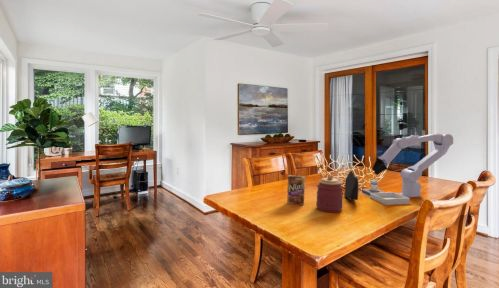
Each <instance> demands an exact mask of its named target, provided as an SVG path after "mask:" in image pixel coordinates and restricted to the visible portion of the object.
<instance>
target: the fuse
mask: <svg viewBox="0 0 499 288" xmlns="http://www.w3.org/2000/svg"><path fill="white" fill-rule="evenodd" d="M370 189H371V190H370V191H371V192H378V190H379V180H376V179H371V180H370Z"/></svg>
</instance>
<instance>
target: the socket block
mask: <svg viewBox="0 0 499 288" xmlns="http://www.w3.org/2000/svg"><path fill="white" fill-rule="evenodd" d="M370 190H371V188H363V189H361V191H360V190H358V193H360V194H362V195H365V196H367V197H369V198H370V193H383V192H384V191H383V190H380V189H378V192H371V191H370Z"/></svg>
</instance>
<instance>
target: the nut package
mask: <svg viewBox="0 0 499 288" xmlns="http://www.w3.org/2000/svg"><path fill="white" fill-rule="evenodd" d="M305 184H306V176H305V175H293V174H288V176H287V194H286V195H287V198H286V204H288V205H290V204H291V205H299V206H301V205H302V206H304V204H305V190H306V189H305V188H306V187H305V186H306V185H305Z"/></svg>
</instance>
